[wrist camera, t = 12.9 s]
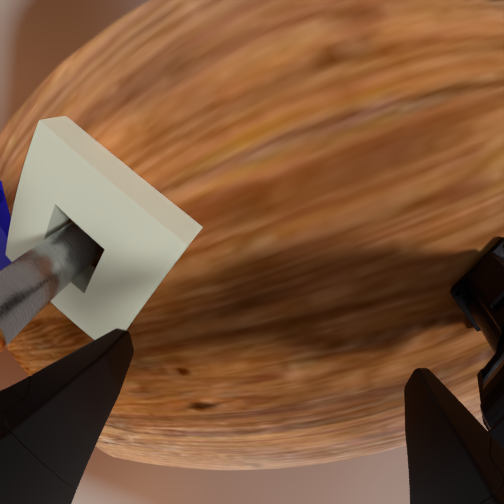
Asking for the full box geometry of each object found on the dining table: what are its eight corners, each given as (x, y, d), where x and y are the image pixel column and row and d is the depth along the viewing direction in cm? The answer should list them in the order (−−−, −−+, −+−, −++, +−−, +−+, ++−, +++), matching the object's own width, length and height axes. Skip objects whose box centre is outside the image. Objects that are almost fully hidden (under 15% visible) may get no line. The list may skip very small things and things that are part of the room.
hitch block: (203, 227, 20) (188, 245, 17) (125, 331, 26) (110, 352, 23) (66, 115, 17) (39, 119, 15) (24, 241, 23) (5, 254, 21)
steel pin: (116, 245, 22) (2, 354, 10) (91, 261, 23) (-11, 361, 11) (92, 206, 20) (-38, 296, 9) (69, 226, 22) (-45, 312, 10)
